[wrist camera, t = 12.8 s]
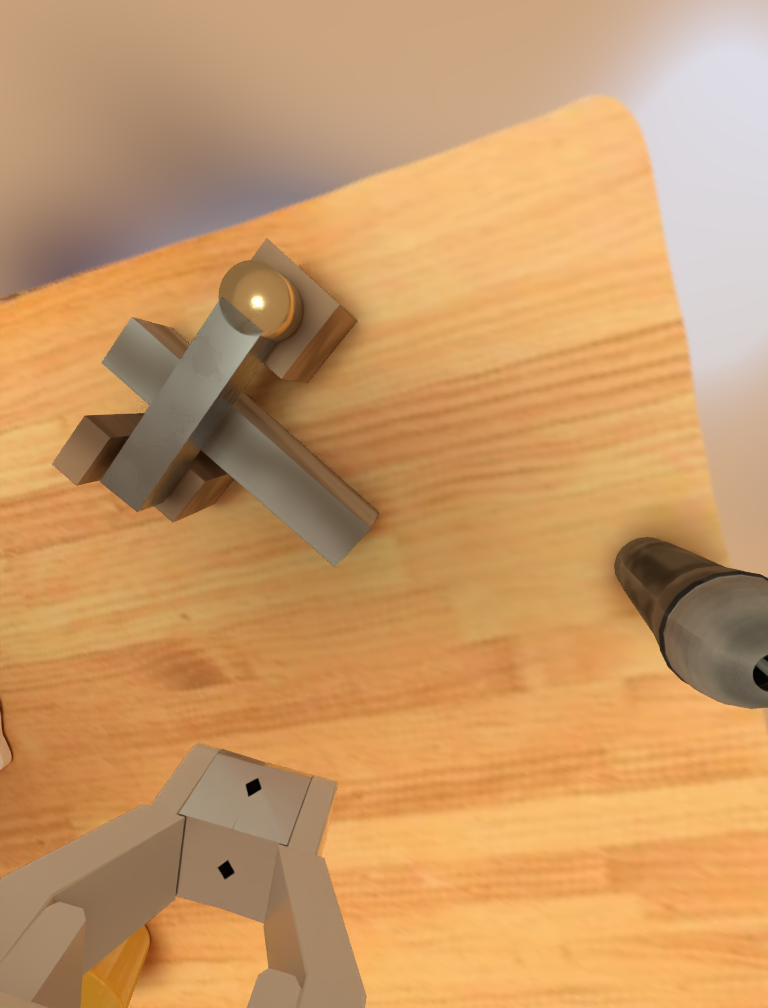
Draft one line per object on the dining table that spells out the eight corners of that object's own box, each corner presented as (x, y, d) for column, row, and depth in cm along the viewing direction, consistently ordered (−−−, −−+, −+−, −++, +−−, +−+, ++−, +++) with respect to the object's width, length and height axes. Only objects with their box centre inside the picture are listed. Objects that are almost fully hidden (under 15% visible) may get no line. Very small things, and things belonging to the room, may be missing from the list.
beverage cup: (662, 501, 37) (908, 613, 17) (714, 576, 37) (1007, 766, 18) (577, 554, 38) (715, 712, 19) (628, 625, 39) (812, 848, 20)
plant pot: (61, 933, 54) (-21, 1047, 44) (102, 876, 51) (25, 984, 42) (138, 986, 54) (73, 1111, 44) (183, 932, 51) (124, 1052, 42)
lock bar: (264, 259, 30) (244, 244, 27) (314, 302, 30) (301, 292, 27) (123, 470, 34) (93, 476, 31) (169, 507, 34) (143, 516, 31)
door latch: (310, 588, 42) (267, 649, 31) (111, 414, 41) (-1, 419, 30) (465, 419, 37) (473, 425, 27) (246, 219, 36) (168, 147, 26)
